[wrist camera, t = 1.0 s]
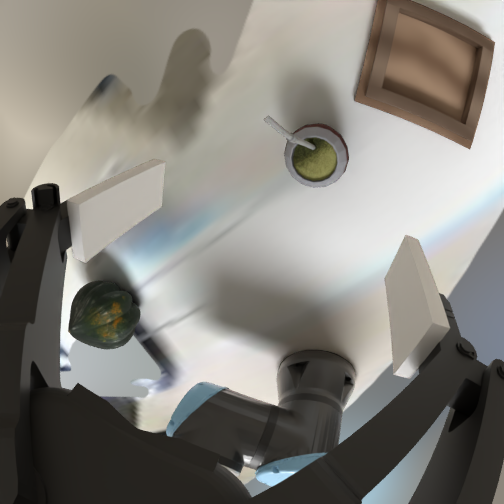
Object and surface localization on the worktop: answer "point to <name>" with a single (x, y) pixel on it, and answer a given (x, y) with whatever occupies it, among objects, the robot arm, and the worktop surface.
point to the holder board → (426, 69)
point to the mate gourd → (314, 153)
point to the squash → (103, 315)
